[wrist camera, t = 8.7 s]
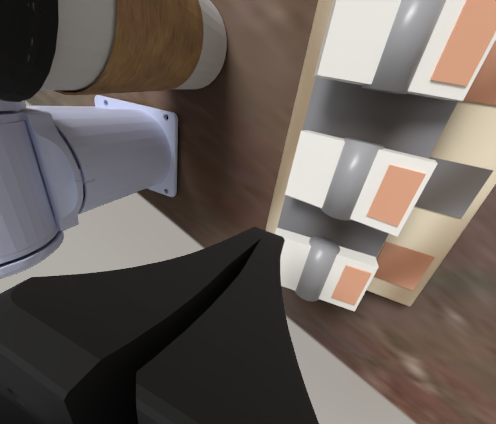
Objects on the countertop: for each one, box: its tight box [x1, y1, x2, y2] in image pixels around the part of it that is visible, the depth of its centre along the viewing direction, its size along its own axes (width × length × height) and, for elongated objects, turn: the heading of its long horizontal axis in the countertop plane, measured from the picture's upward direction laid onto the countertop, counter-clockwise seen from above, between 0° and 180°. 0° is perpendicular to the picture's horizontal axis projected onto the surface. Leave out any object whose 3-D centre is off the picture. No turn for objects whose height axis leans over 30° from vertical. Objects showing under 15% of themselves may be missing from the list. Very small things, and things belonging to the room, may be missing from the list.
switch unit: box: [265, 0, 496, 307], centre depth 14 cm, size 12×18×4 cm, turn 170°
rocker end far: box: [275, 228, 379, 312], centre depth 15 cm, size 6×4×2 cm, turn 80°
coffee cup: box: [0, 0, 227, 102], centre depth 11 cm, size 8×8×15 cm
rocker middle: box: [285, 130, 438, 237], centre depth 12 cm, size 6×4×2 cm, turn 79°
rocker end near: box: [314, 0, 496, 101], centre depth 9 cm, size 6×4×2 cm, turn 80°
